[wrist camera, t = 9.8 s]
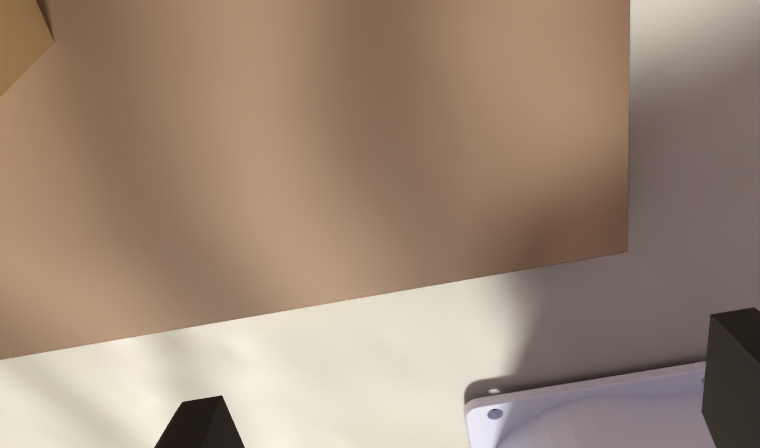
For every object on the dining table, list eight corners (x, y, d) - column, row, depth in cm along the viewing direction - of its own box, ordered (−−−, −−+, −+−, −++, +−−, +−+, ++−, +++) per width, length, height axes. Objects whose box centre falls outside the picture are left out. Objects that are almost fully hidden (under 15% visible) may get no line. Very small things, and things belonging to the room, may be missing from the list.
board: (604, -583, 12) (635, -622, 11) (610, 221, 21) (627, 251, 19) (-608, -289, 13) (-707, -293, 12) (-119, 348, 22) (-147, 384, 21)
